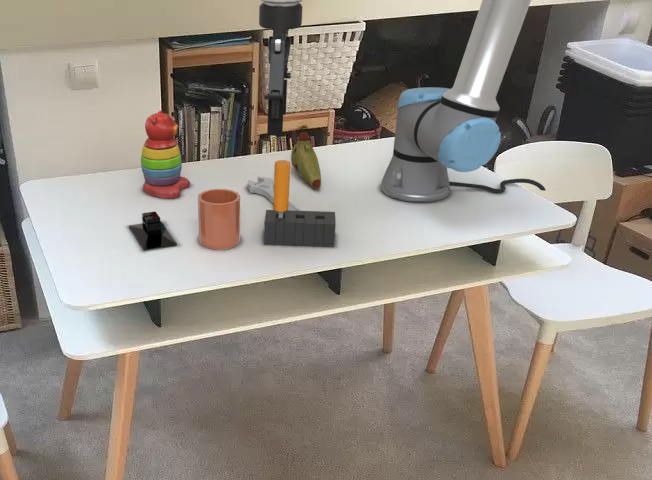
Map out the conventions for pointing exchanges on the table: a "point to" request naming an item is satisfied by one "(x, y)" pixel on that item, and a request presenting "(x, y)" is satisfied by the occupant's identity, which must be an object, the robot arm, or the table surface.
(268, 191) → the adjustable wrench
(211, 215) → the pen cup
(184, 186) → the stacking bear
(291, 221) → the holder
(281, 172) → the orange round dowel
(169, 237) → the build plate
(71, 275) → the table surface
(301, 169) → the olive green tapered piece
